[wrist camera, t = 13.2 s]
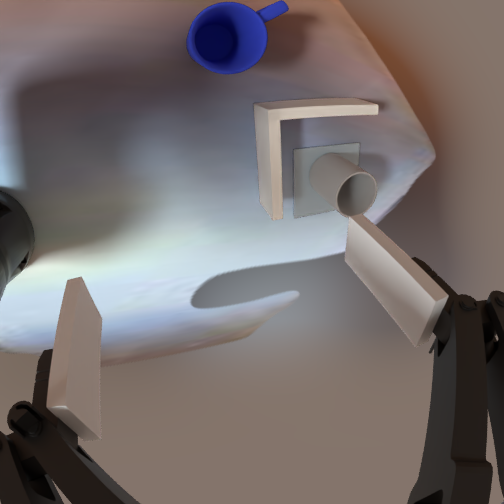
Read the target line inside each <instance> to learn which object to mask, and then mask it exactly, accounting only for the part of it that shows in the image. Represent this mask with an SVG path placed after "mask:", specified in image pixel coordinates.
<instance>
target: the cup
mask: <svg viewBox="0 0 504 504" xmlns="http://www.w3.org/2000/svg"><path fill="white" fill-rule="evenodd" d="M309 180H310V184H311V186H312V188H313V189H314V190H315V191H316V192H317V193H318V194H319V195H320V196H322V197H323V198H324V199H325V200H326V201H327V202H328V203H329V204H330V205H332V206H333V207H334V208H335V209H336V210H337V211H338V212H339V213H340V214H341V215H343V216H345V217H348V218H349V216H354V215H358V214H364V213H365V212H366V211H367V210H368V209H369V208H370V207H371V206H372V204H373V203H374V201H375V198H376V195H377V183H376V180H375V179H374V177H373V176H372V175H371V174H369V173H368V172H366V171H365V170H363V169H361V168H360V167H358V166H357V165H355V164H353V163H352V162H350V161H349V160H347V159H345V158H344V157H342V156H340V155H338V154H335V153H327V154H324V155H322V156H321V157H319V158H318V159H317V160H316V161H315V162H314V163H313V165H312V166H311V169H310V172H309Z"/></svg>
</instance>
